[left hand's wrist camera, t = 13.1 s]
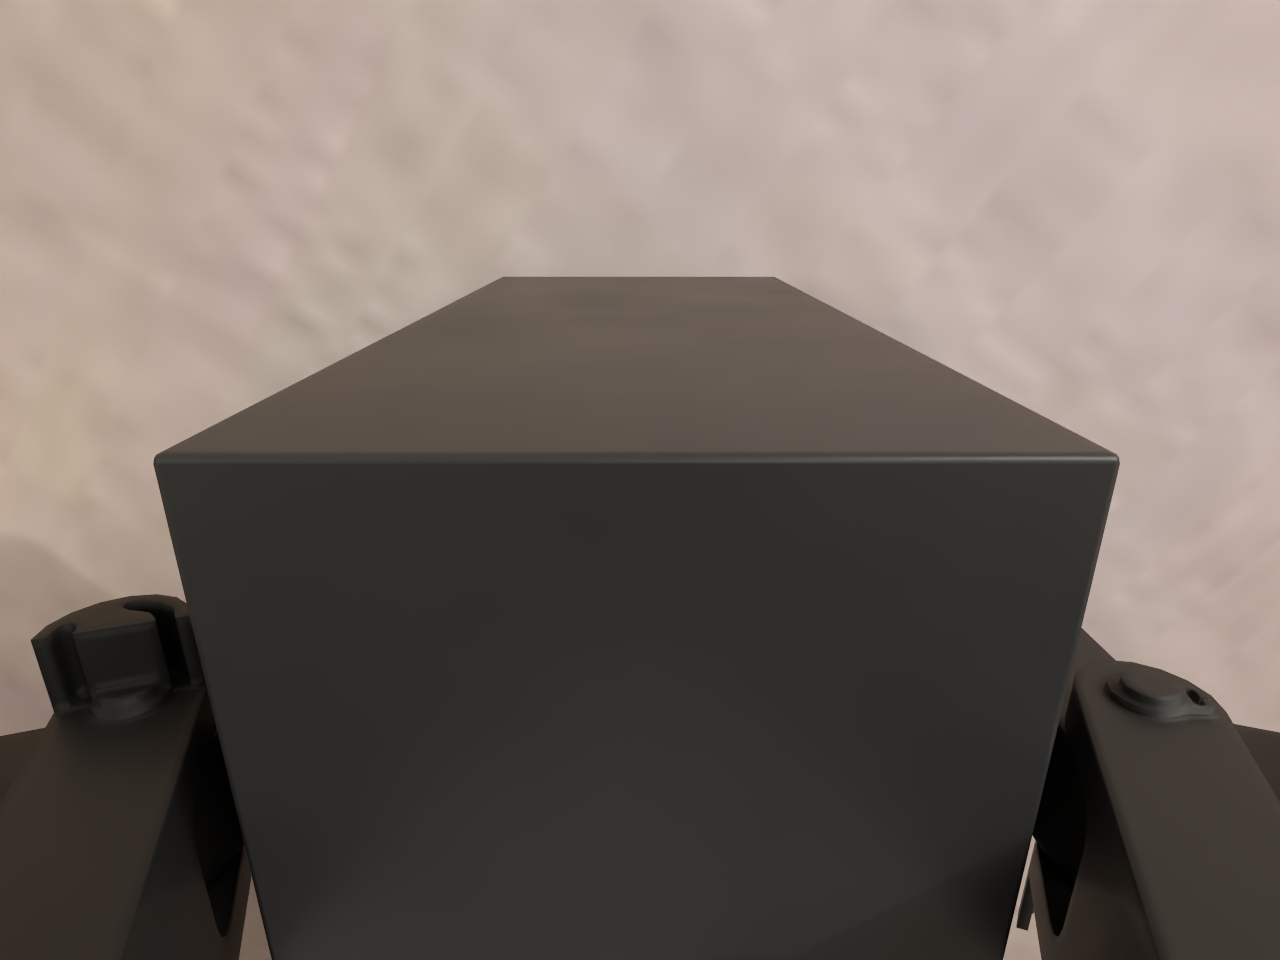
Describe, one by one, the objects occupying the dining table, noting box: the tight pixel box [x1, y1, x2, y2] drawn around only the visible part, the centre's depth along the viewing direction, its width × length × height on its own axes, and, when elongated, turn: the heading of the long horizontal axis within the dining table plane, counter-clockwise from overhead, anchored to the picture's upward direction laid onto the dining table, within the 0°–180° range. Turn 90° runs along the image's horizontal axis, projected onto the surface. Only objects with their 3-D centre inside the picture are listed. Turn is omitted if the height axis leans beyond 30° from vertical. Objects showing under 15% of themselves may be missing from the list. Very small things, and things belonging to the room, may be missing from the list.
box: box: [154, 277, 1120, 960], centre depth 15 cm, size 26×6×13 cm, turn 0°
